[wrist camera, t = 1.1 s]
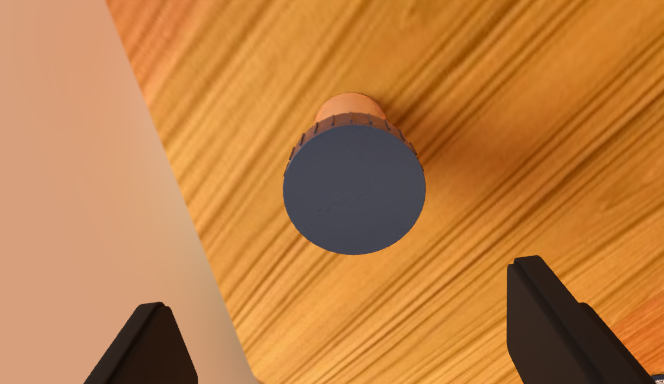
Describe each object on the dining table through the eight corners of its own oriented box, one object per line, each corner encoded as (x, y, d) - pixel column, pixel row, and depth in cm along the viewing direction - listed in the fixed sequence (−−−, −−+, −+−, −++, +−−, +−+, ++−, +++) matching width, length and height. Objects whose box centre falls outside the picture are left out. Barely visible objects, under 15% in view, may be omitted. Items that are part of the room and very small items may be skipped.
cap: (411, 99, 20) (420, 111, 18) (423, 222, 23) (432, 245, 21) (274, 123, 21) (266, 137, 19) (302, 240, 24) (298, 264, 21)
